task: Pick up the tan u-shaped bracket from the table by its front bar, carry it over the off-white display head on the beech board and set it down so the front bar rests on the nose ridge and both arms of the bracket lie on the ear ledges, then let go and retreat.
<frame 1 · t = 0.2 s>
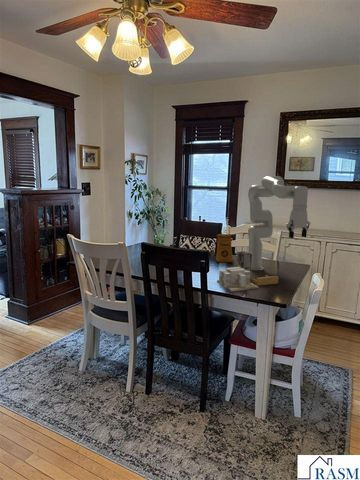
hand: (297, 237, 193), 31 cm above the table, fingers open, 9 cm apart
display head: (237, 285, 202), on the table
coffee box: (243, 276, 220), on the table
tan u-shaped bracket: (267, 284, 204), on the table
coffee package: (224, 261, 259), on the table
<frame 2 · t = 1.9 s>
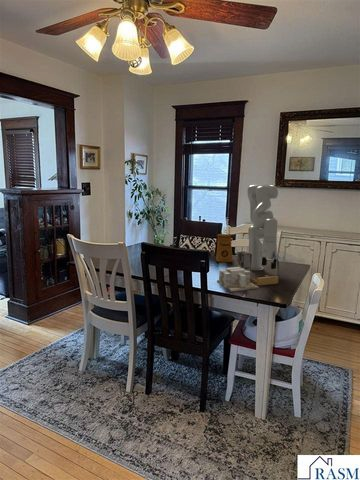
hand: (268, 266, 202), 11 cm above the table, fingers open, 9 cm apart
nothing on the table moved.
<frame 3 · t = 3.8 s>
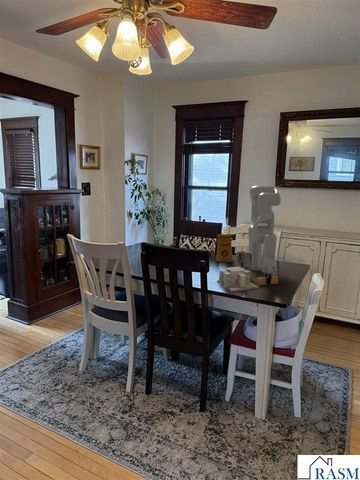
hand: (267, 283, 204), 1 cm above the table, fingers closed on tan u-shaped bracket
tan u-shaped bracket: (267, 283, 204), on the table, touching gripper
everything else where it was.
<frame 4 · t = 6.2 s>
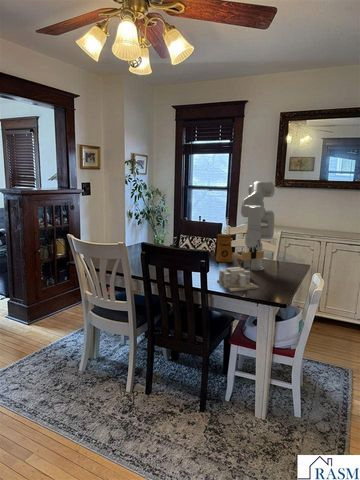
hand: (252, 258, 196), 18 cm above the table, fingers closed on tan u-shaped bracket
tan u-shaped bracket: (252, 259, 196), point 17 cm above the table, touching gripper
everything else where it was.
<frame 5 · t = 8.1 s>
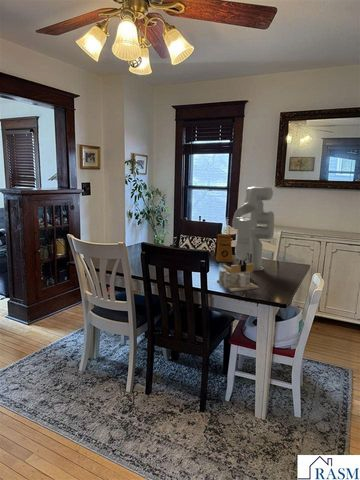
hand: (242, 270, 195), 10 cm above the table, fingers closed on tan u-shaped bracket
tan u-shaped bracket: (242, 271, 195), point 10 cm above the table, touching gripper
everything else where it was.
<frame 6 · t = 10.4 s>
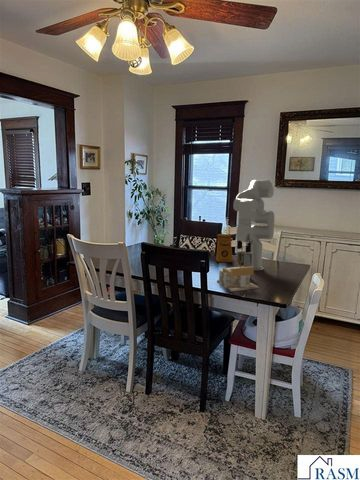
hand: (243, 250, 194), 22 cm above the table, fingers open, 9 cm apart
tan u-shaped bracket: (242, 274, 195), point 8 cm above the table, touching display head
everything else where it was.
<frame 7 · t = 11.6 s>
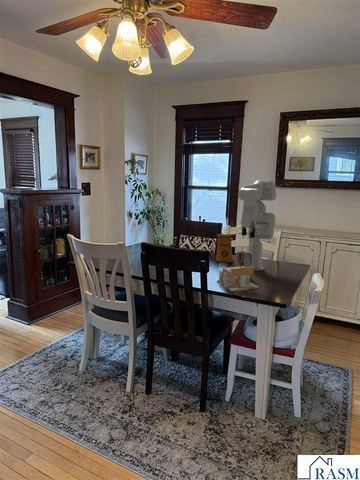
hand: (248, 236, 208), 28 cm above the table, fingers open, 9 cm apart
nothing on the table moved.
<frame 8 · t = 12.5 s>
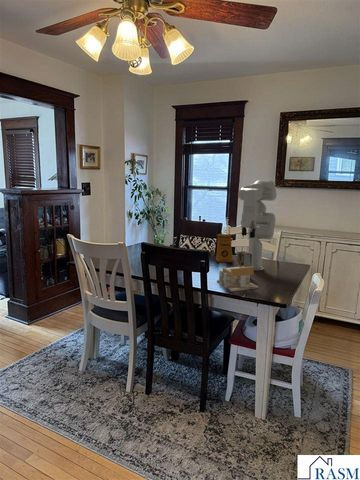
hand: (248, 236, 208), 28 cm above the table, fingers open, 9 cm apart
nothing on the table moved.
at the end: tan u-shaped bracket 0.0 cm from the target spot on the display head, point 8.0 cm above the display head's base; tan u-shaped bracket tilted 0°; the gripper is holding nothing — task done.
